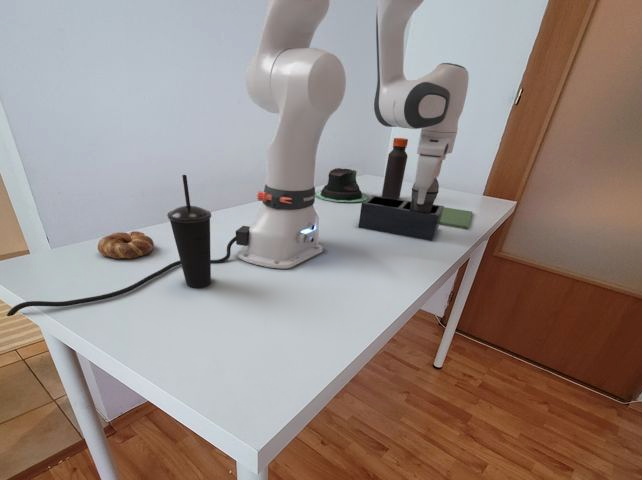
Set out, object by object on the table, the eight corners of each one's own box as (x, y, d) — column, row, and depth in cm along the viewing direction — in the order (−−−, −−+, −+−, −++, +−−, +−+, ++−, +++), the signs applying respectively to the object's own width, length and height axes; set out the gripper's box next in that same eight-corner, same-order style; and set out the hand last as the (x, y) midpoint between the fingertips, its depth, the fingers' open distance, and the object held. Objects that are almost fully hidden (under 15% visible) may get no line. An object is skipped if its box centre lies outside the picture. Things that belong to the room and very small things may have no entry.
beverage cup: (430, 236, 104) (451, 159, 92) (405, 235, 104) (422, 157, 92) (424, 228, 110) (442, 154, 98) (400, 227, 110) (416, 153, 98)
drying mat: (467, 229, 112) (468, 226, 111) (409, 219, 117) (409, 216, 117) (471, 213, 127) (472, 211, 126) (419, 205, 132) (420, 203, 132)
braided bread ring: (98, 263, 78) (93, 246, 76) (100, 246, 87) (95, 230, 84) (156, 258, 82) (153, 242, 80) (153, 241, 90) (150, 226, 88)
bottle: (378, 196, 141) (387, 137, 129) (393, 196, 142) (404, 137, 131) (386, 201, 135) (397, 139, 124) (402, 200, 137) (414, 140, 125)
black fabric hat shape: (324, 184, 148) (372, 192, 144) (310, 217, 141) (361, 226, 137) (323, 151, 135) (376, 158, 131) (308, 185, 128) (363, 194, 124)
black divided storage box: (432, 241, 101) (438, 215, 97) (358, 227, 108) (361, 203, 104) (437, 230, 110) (444, 206, 105) (368, 218, 116) (372, 195, 112)
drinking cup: (201, 271, 78) (189, 169, 66) (225, 282, 74) (216, 176, 62) (171, 282, 73) (151, 174, 61) (194, 295, 69) (178, 182, 57)
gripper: (429, 138, 102) (418, 190, 111) (416, 146, 87) (404, 206, 95) (452, 140, 100) (439, 193, 109) (443, 149, 85) (429, 210, 93)
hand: (423, 199), depth 102 cm, fingers open, 8 cm apart
